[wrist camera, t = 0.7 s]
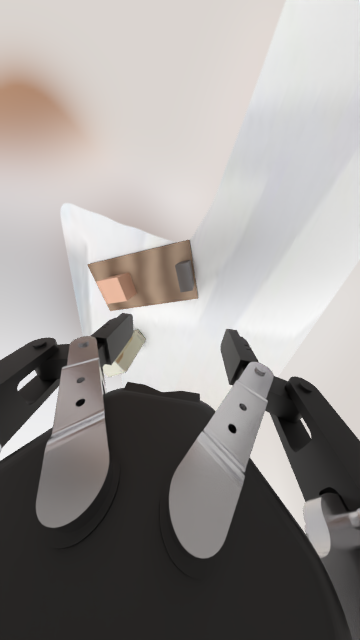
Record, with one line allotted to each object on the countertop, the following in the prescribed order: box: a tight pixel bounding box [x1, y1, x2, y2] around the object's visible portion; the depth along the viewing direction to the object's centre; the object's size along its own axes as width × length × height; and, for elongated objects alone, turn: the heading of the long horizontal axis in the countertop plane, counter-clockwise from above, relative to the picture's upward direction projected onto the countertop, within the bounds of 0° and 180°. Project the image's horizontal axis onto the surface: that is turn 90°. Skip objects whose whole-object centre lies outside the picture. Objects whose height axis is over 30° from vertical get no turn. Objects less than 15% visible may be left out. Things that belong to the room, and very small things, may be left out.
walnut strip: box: [88, 240, 198, 311], centre depth 29 cm, size 24×12×6 cm, turn 102°
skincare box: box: [103, 330, 146, 377], centre depth 36 cm, size 6×4×12 cm
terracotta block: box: [97, 273, 137, 304], centre depth 30 cm, size 5×5×5 cm
